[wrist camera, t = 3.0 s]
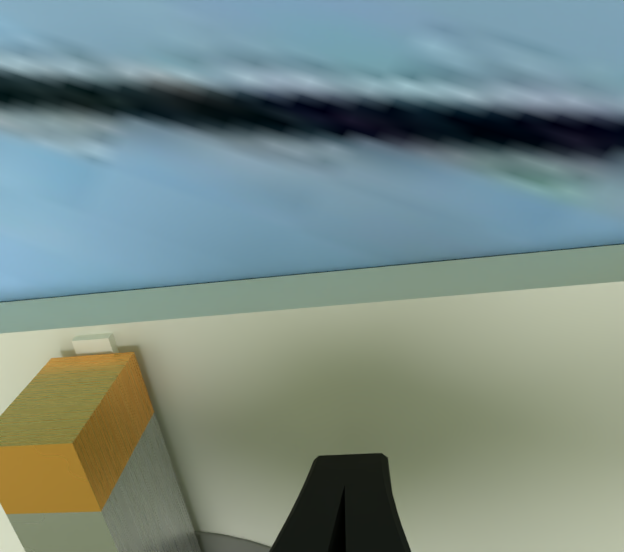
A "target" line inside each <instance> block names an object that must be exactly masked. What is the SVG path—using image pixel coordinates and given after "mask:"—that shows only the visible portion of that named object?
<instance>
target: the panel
mask: <svg viewBox="0 0 624 552" xmlns="http://www.w3.org/2000/svg"><path fill="white" fill-rule="evenodd" d="M126 352H134V353H135V356H136V359H137V362H138V365H139V368H140V371H141V374H142V377H143V380H144V383H145V386H146V389H147V392H148V395H149V398H150V401H151V404H152V407H153V410H154V413H155V416H156V419H157V421H158V424H159V427H160V430H161V433H162V436H163V439H164V442H165V445H166V448H167V451H168V454H169V457H170V460H171V463H172V466H173V469H174V472H175V475H176V478H177V481H178V484H179V487H180V490H181V493H182V496H183V499H184V502H185V505H186V508H187V511H188V514H189V517H190V520H191V522H192V525H193V528H194V531H195V534H196V537H197V540H198V543H199V546H200V549H201V552H269V551H270V549H271V547H272V545H273V543H274V542H275V540H276V538H277V536H278V534H279V532H280V531H281V529H282V527H283V525H284V523H285V521H286V519H287V518H288V516H289V514H290V512H291V510H292V508H293V506H294V504H295V502H296V500H297V498H298V495H299V493H300V491H301V489H302V487H303V485H304V482H305V480H306V478H307V476H308V473H309V471H310V468H311V466H312V463H313V461H314V460H315V459H316V458H317V457H318V456H320V455H344V454H367V453H382V454H384V455H385V456H386V457H388V462H389V470H390V478H391V486H392V493H393V497H394V501H395V504H396V508H397V512H398V515H399V518H400V521H401V524H402V527H403V530H404V533H405V536H406V538H407V541H408V544H409V547H410V549H411V552H624V244H622V245H611V246H600V247H590V248H579V249H568V250H557V251H547V252H536V253H525V254H515V255H504V256H493V257H483V258H472V259H461V260H450V261H440V262H429V263H418V264H408V265H397V266H386V267H376V268H365V269H354V270H343V271H333V272H322V273H311V274H301V275H290V276H279V277H268V278H258V279H247V280H236V281H226V282H215V283H204V284H194V285H183V286H172V287H161V288H151V289H140V290H129V291H119V292H108V293H97V294H87V295H76V296H65V297H54V298H44V299H33V300H22V301H12V302H1V303H0V416H1V414H2V413H3V412H4V411H5V410H6V409H7V408H8V406H9V405H10V404H11V403H12V402H13V401H14V400H15V399H16V397H17V396H18V395H19V394H20V393H21V392H22V391H23V390H24V388H25V387H26V386H27V385H28V384H29V383H30V382H31V381H32V379H33V378H34V377H35V376H36V375H37V374H38V373H39V372H40V370H41V369H42V368H43V367H44V366H45V365H46V364H47V362H48V361H49V360H50V359H51V358H59V357H73V356H86V355H99V354H113V353H126ZM0 552H25V550H24V548H23V546H22V544H21V542H20V540H19V538H18V536H17V534H16V533H15V531H14V529H13V527H12V525H11V523H10V521H9V519H8V517H7V515H6V513H5V511H4V509H3V508H2V506H1V504H0Z"/></svg>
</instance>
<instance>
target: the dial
mask: <svg viewBox="0 0 624 552" xmlns="http://www.w3.org/2000/svg"><path fill="white" fill-rule="evenodd" d="M0 504H1V506H2V508H3V509H4V511H5V513H6V515H7V517H8V519H9V521H10V523H11V525H12V527H13V529H14V531H15V533H16V534H17V536H18V538H19V540H20V542H21V544H22V546H23V548H24V550H25V552H201V549H200V546H199V543H198V540H197V537H196V534H195V531H194V528H193V525H192V522H191V520H190V517H189V514H188V511H187V508H186V505H185V502H184V499H183V496H182V493H181V490H180V487H179V484H178V481H177V478H176V475H175V472H174V469H173V466H172V463H171V460H170V457H169V454H168V451H167V448H166V445H165V442H164V439H163V436H162V433H161V430H160V427H159V424H158V421H157V419H156V416H155V413H154V410H153V407H152V404H151V401H150V398H149V395H148V392H147V389H146V386H145V383H144V380H143V377H142V374H141V371H140V368H139V365H138V362H137V359H136V356H135V353H134V352H126V353H113V354H99V355H86V356H73V357H59V358H51V359H50V360H49V361H48V362H47V364H46V365H45V366H44V367H43V368H42V369H41V370H40V372H39V373H38V374H37V375H36V376H35V377H34V378H33V379H32V381H31V382H30V383H29V384H28V385H27V386H26V387H25V388H24V390H23V391H22V392H21V393H20V394H19V395H18V396H17V397H16V399H15V400H14V401H13V402H12V403H11V404H10V405H9V406H8V408H7V409H6V410H5V411H4V412H3V413H2V414H1V416H0Z"/></svg>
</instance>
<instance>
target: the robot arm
mask: <svg viewBox="0 0 624 552" xmlns="http://www.w3.org/2000/svg"><path fill="white" fill-rule="evenodd" d="M269 552H411V549H410V547H409V544H408V541H407V538H406V536H405V533H404V530H403V527H402V524H401V521H400V518H399V515H398V512H397V508H396V504H395V501H394V497H393V493H392V486H391V478H390V470H389V462H388V457H386V456H385V455H384V454H382V453H367V454H344V455H320V456H318V457H317V458H316V459H315V460H314V461H313V463H312V466H311V468H310V471H309V473H308V476H307V478H306V480H305V482H304V485H303V487H302V489H301V491H300V493H299V495H298V498H297V500H296V502H295V504H294V506H293V508H292V510H291V512H290V514H289V516H288V518H287V519H286V521H285V523H284V525H283V527H282V529H281V531H280V532H279V534H278V536H277V538H276V540H275V542H274V543H273V545H272V547H271V549H270V551H269Z"/></svg>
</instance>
